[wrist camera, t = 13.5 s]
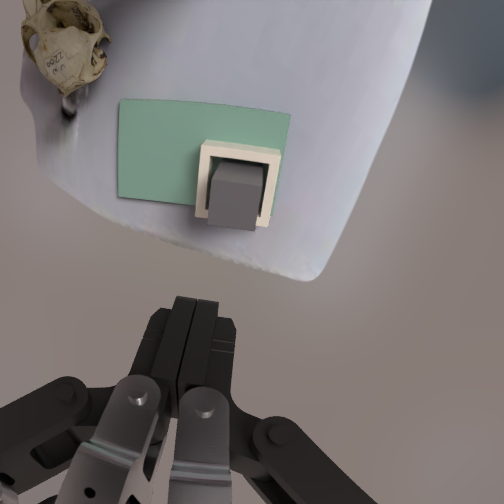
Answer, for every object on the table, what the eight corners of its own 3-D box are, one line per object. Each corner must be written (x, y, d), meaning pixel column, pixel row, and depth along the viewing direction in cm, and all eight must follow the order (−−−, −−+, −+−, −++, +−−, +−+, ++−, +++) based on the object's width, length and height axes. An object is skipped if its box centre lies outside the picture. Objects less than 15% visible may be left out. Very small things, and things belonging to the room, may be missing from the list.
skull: (100, -47, 19) (55, -51, 12) (139, 55, 30) (107, 78, 24) (38, -8, 21) (-12, 4, 14) (77, 85, 32) (38, 115, 25)
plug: (222, 157, 34) (211, 179, 27) (262, 163, 34) (262, 186, 27) (217, 198, 36) (206, 229, 29) (255, 204, 36) (253, 236, 29)
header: (206, 139, 33) (201, 144, 30) (279, 149, 33) (281, 155, 30) (200, 206, 37) (195, 216, 34) (267, 215, 37) (268, 227, 34)
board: (123, 99, 31) (120, 99, 30) (290, 114, 32) (290, 115, 31) (121, 193, 37) (118, 196, 36) (271, 213, 38) (272, 216, 37)
